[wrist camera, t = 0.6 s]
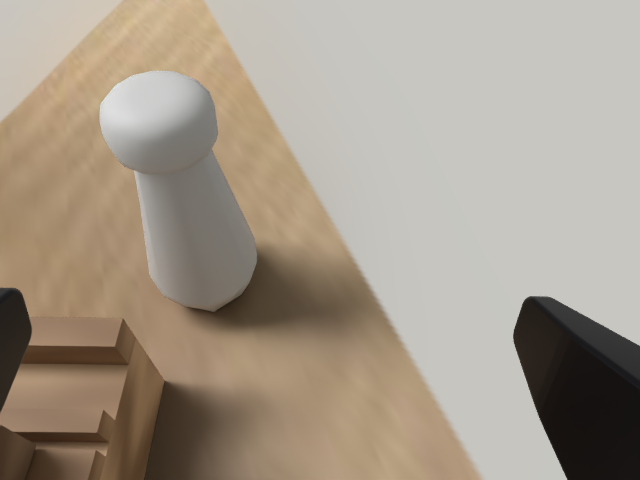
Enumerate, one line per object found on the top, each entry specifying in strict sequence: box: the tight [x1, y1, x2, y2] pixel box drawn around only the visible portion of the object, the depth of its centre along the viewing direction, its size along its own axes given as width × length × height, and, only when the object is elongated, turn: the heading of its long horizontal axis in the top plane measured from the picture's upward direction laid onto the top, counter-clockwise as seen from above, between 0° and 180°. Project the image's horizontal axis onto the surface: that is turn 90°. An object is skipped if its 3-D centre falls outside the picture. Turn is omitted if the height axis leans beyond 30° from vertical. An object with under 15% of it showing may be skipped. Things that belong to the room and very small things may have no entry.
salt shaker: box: [100, 71, 257, 312], centre depth 23 cm, size 6×6×13 cm
